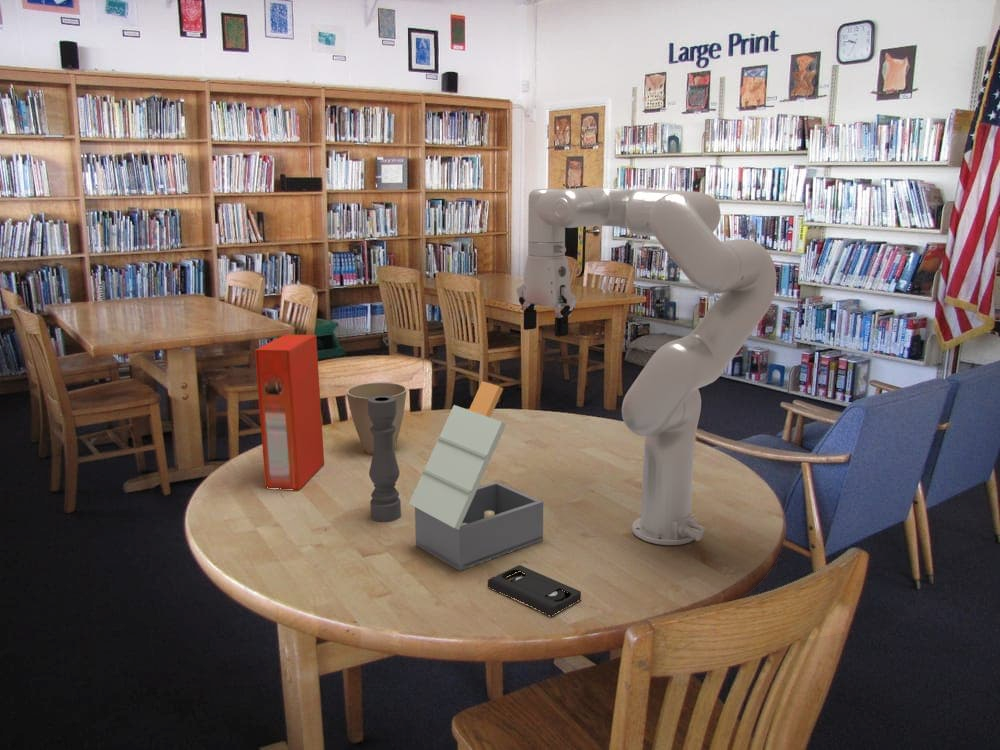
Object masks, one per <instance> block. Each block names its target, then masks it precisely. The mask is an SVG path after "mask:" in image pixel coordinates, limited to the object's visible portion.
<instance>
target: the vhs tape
mask: <svg viewBox="0 0 1000 750" xmlns="http://www.w3.org/2000/svg"><path fill="white" fill-rule="evenodd" d="M518 571H521V572H523V573H525V574H527V575H522V576H520V575H516V576H514V577H512V578H511V579H510V580H509V579H508V578H507V579H505V578H506V577H507V576H509V575H512V574H514V573H515V572H518ZM488 587H490V588H492V589H494V590H496V591H498V592H501V593H503V594H505V595H508V596H510V597H512V598H515V599H517V600H519V601H521V602H524V603H525V604H528V605H529V606H532V607H533V608H536V609H537V610H540V611H541V612H544V613H546V614H547V615H550V616H552V615H554V614H555V613H557V612H558V611H561V610H562V609H564V608H566V607H568V606H569V605H571V604H573V603H575V602H577V601H578V600H580V599H581V600H582V596H581V595H582V590H581V591H580V590H578V589H576V588H574V587H572V586H569V585H567V584H565V583H563V582H560V581H557V580H555V579H553V578H551V577H548V576H546V575H543V574H542V573H539V572H537V571H535V570H532V569H531V568H527V567H525V566H523V565H520V564H519V565H516V566H513V567H512V568H510V569H508V570H506V571H503V572H502V573H499V574H498V575H497V574H496V575H495V576H492V577H491V578H488V579H487V588H488ZM490 588H489V589H490ZM492 589H491V590H492ZM494 590H493V591H494ZM562 590H563V591H562ZM496 591H495V592H496ZM564 591H565V592H568V593H569V594H571V595H570V596H569V597H567V598H566V595H565V594H566V593H565V592H564ZM498 592H497V593H498ZM569 594H568V595H569ZM577 603H578V602H577ZM575 604H576V603H575ZM568 608H569V607H568ZM561 612H562V611H561ZM547 615H546V616H547ZM554 616H555V615H554Z"/></svg>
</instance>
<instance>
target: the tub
mask: <svg viewBox="0 0 1000 750" xmlns="http://www.w3.org/2000/svg"><path fill="white" fill-rule="evenodd" d="M414 526H415V527H414V528H415V546H417V547H419V548H420V549H422V550H423V551H425V552H427V553H428V554H430V555H433V556H434V557H435V558H437V559H439V560H440V561H442V562H444V563H445V562H446V563H445V564H447V565H449V566H451V567H452V568H453V569H456V570H458V571H459V572H461V571H464V570H466V569H465V568H467V569H469V568H471V567H470V566H472V567H474V566H473V565H475V564H478V563H480V564H482V563H481V562H483V563H485V562H484V561H486V562H488V561H487V560H489V559H491V560H493V559H492V558H494V559H496V558H495V557H497V558H499V557H498V556H500V555H502V556H504V555H503V554H505V555H507V554H506V553H508V552H510V553H512V552H511V551H513V552H515V550H516V551H518V550H517V549H519V550H521V549H524V548H526V547H529V545H530V546H532V545H534V544H538V543H540V542H543V541H544V501H542V500H540V499H539V498H535V497H533V496H531V495H529V494H526V493H524V492H522V491H520V490H517V489H515V488H512V487H510V486H508V485H506V484H504V483H501V482H499V481H493V482H491V483H487V484H484V485H481V486H480V485H479V486H478V489H477V491H476V493H475V495H474V498H473V500H472V502H471V504H470V506H469V509H468V511H467V513H466V515H465V518H464V520H463V522H462V524H461V527H460V529H459V530H458V529H455V528H453V527H451V526H450V525H448V524H446V523H444V522H442V521H440V520H438V519H437V518H435V517H433V516H431V515H429V514H427V513H425V512H424V511H422V510H420V509H418V508H416V507H414ZM523 547H524V548H523ZM520 548H521V549H520ZM508 554H509V553H508ZM500 557H501V556H500ZM489 561H490V560H489ZM478 565H479V564H478ZM475 566H476V565H475ZM468 567H469V568H468ZM463 569H464V570H463ZM460 570H461V571H460Z"/></svg>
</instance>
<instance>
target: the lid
mask: <svg viewBox="0 0 1000 750" xmlns="http://www.w3.org/2000/svg"><path fill="white" fill-rule="evenodd" d="M503 390H504V388H503V387H501V386H499V385H498V384H497V385H496V384H494V383H489V382H488V381H487V382H486V381H481V383H480V385H479V388H478V389H477V391H476V393H475V396H474V398H473V401H472V402H471V404H470V407H469V409H466V408H464V407H461V406H460V405H459V406H458V405H455V404H453V406H452V408H451V410H450V413H449V415H448V417H447V419H446V421H445V424H444V426H443V428H442V430H441V432H440V434H439V435H438V436H437V441H436V443H435V445H434V447H433V450H432V451H431V454H430V457H429V458H428V461H427V463H426V465H425V467H424V468H423V469H422V470H421V471H422V474H421V475H420V478H419V480H418V482H417V484H416V487H415V488H414V491H413V493H412V495H411V498H410V500H409V502H408V505H410V506H412V507H414V508H415V507H416V508H418V509H420V510H422V511H424V512H425V513H427V514H429V515H431V516H433V517H435V518H437V519H438V520H440V521H442V522H444V523H446V524H448V525H450V526H451V527H453V528H455V529H458V530H459V529H460V527H461V524H462V522H463V520H464V518H465V515H466V513H467V511H468V509H469V506H470V504H471V502H472V500H473V498H474V495H475V493H476V491H477V489H478V487H480V484H481V482H482V480H483V478H484V476H485V473H486V470H487V469H488V467H489V464H490V462H491V460H492V457H493V455H494V453H495V450H496V449H497V446H498V443H499V441H500V439H501V437H502V435H503V434H504V430H505V429H506V426H507V423H504V422H503V421H500V420H498V419H495V418H492V415H493V413H494V411H495V408H496V406H497V403H498V401H499V399H500V397H501V395H502V393H503Z"/></svg>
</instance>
